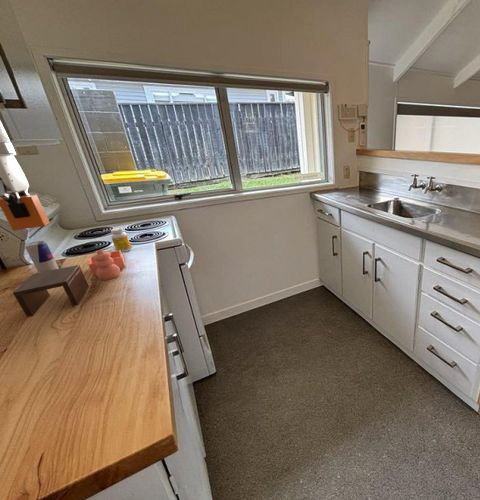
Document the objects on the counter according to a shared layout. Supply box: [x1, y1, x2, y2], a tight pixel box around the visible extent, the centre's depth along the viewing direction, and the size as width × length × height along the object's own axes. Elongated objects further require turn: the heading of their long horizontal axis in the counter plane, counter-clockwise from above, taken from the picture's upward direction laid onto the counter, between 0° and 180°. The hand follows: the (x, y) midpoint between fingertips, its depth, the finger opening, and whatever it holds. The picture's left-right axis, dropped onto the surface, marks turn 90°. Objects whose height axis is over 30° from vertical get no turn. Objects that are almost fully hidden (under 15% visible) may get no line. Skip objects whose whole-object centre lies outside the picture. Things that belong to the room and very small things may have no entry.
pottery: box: [88, 249, 126, 281], centre depth 102 cm, size 18×10×10 cm, turn 39°
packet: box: [0, 194, 51, 231], centre depth 84 cm, size 7×4×9 cm, turn 119°
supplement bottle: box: [110, 227, 133, 253], centre depth 121 cm, size 5×5×10 cm
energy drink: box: [24, 240, 60, 273], centre depth 102 cm, size 5×5×12 cm
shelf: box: [12, 264, 90, 318], centre depth 85 cm, size 11×13×8 cm
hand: (26, 214), depth 84 cm, fingers closed on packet, 4 cm apart
